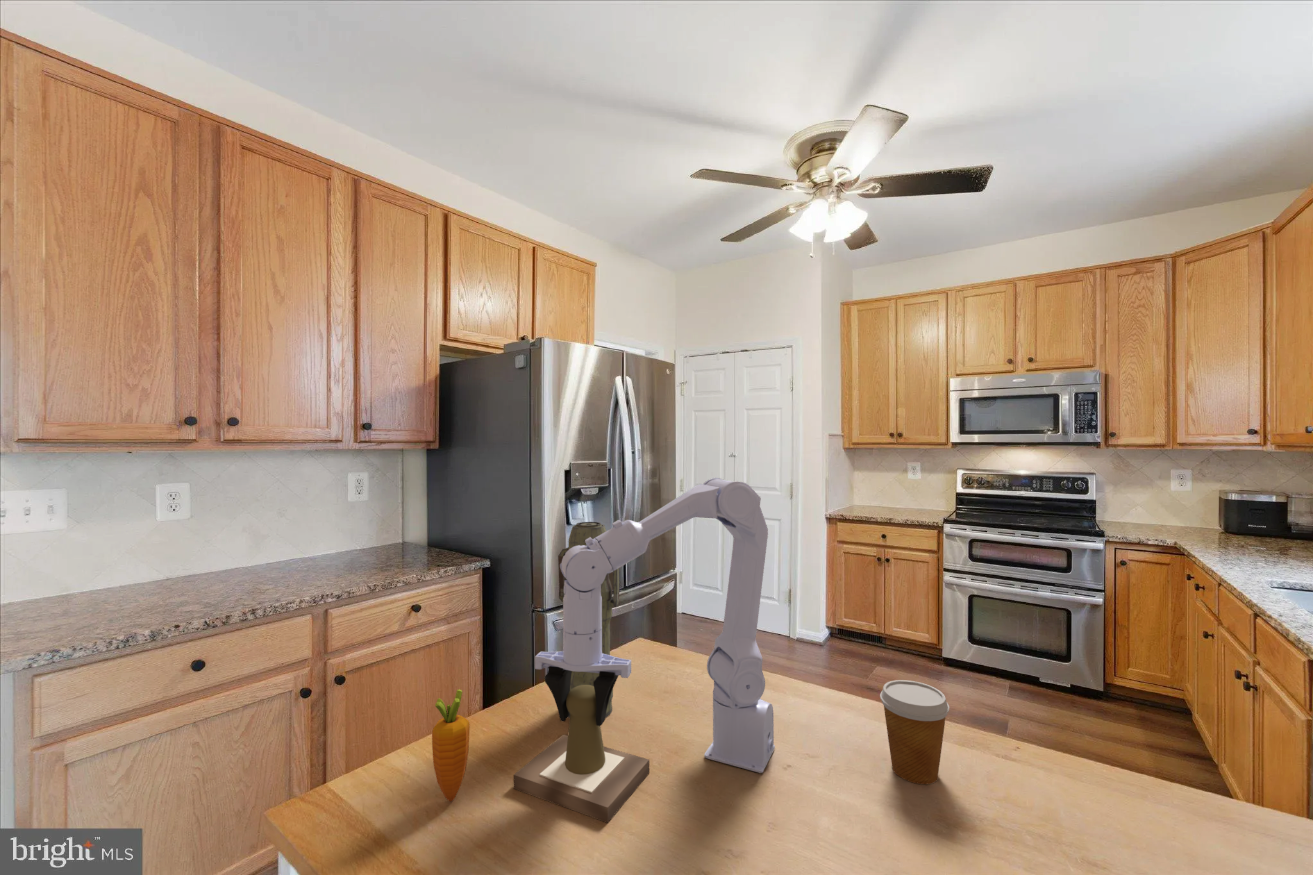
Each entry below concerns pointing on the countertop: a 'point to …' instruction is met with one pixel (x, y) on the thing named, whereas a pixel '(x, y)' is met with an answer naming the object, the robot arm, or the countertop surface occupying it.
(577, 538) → the thermos
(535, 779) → the walnut plinth
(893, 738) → the disposable coffee cup
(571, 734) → the olive pawn piece
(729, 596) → the robot arm
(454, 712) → the carrot
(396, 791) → the countertop surface
